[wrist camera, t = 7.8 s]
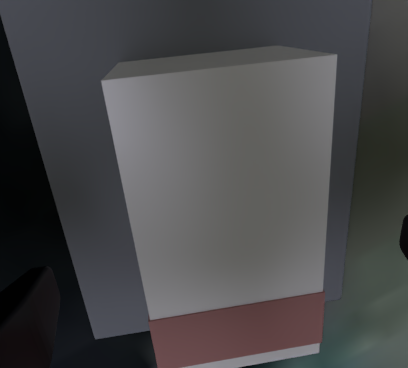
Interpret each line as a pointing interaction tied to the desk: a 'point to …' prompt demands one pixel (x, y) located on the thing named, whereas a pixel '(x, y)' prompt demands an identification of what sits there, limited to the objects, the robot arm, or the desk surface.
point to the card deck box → (227, 199)
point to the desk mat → (101, 131)
